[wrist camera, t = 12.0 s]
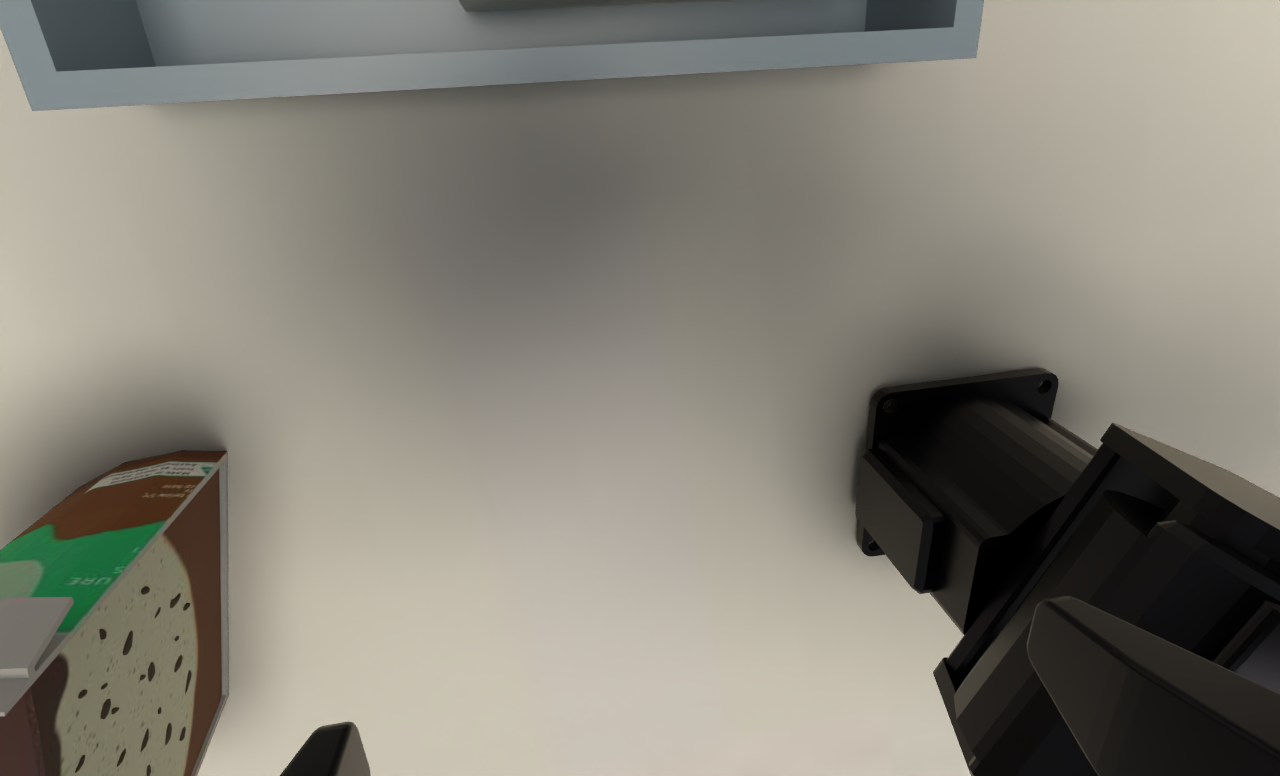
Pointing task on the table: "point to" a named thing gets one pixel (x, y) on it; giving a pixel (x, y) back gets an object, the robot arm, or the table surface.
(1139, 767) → the robot arm
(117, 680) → the food container
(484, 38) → the tote
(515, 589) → the table surface
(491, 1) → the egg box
